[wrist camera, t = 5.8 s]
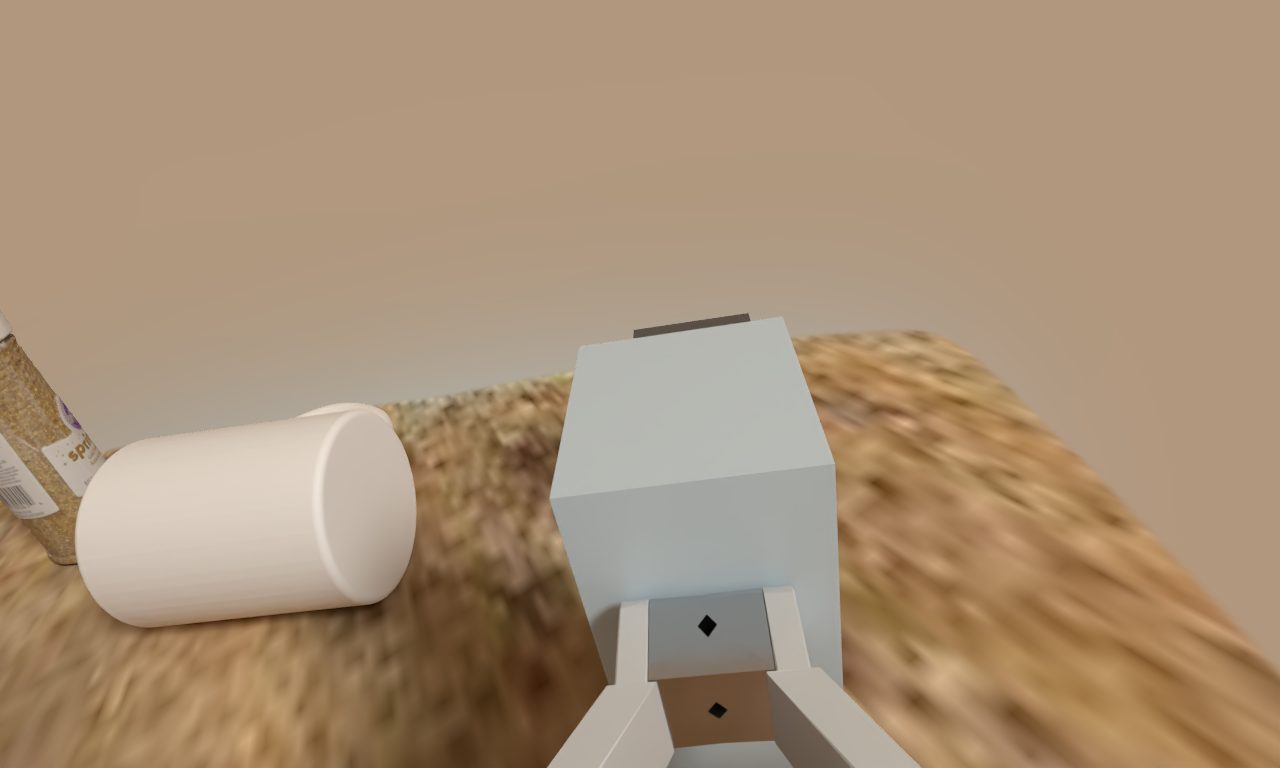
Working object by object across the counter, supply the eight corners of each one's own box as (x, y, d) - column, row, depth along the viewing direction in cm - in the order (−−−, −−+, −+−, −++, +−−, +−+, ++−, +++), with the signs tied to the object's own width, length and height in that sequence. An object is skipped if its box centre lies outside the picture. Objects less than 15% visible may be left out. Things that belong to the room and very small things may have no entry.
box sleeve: (666, 867, 17) (549, 499, 11) (664, 684, 21) (579, 346, 15) (849, 856, 16) (835, 463, 10) (809, 671, 21) (782, 316, 15)
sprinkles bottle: (162, 520, 37) (0, 295, 30) (70, 580, 34) (-133, 345, 27) (127, 499, 40) (-30, 286, 33) (38, 553, 37) (-155, 331, 30)
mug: (377, 647, 27) (289, 494, 23) (149, 669, 28) (27, 527, 24) (454, 459, 37) (403, 331, 33) (284, 482, 38) (214, 359, 34)
